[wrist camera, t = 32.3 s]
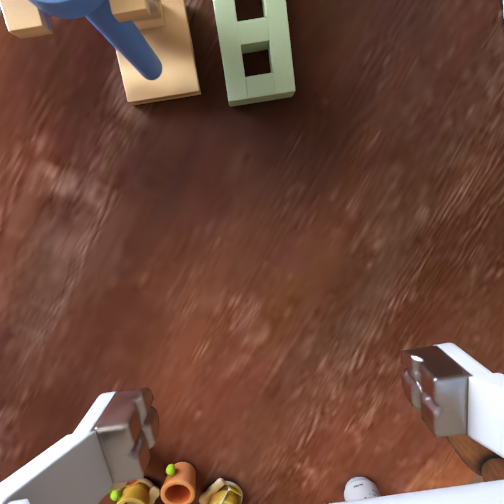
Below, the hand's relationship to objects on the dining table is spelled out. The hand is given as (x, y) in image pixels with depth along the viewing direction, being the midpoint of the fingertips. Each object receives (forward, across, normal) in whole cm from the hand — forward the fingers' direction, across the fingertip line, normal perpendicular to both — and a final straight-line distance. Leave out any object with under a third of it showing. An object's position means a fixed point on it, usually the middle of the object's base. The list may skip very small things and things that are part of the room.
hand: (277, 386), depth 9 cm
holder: (+33, -4, -23) cm, 41 cm away
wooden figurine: (+33, -30, +39) cm, 59 cm away
